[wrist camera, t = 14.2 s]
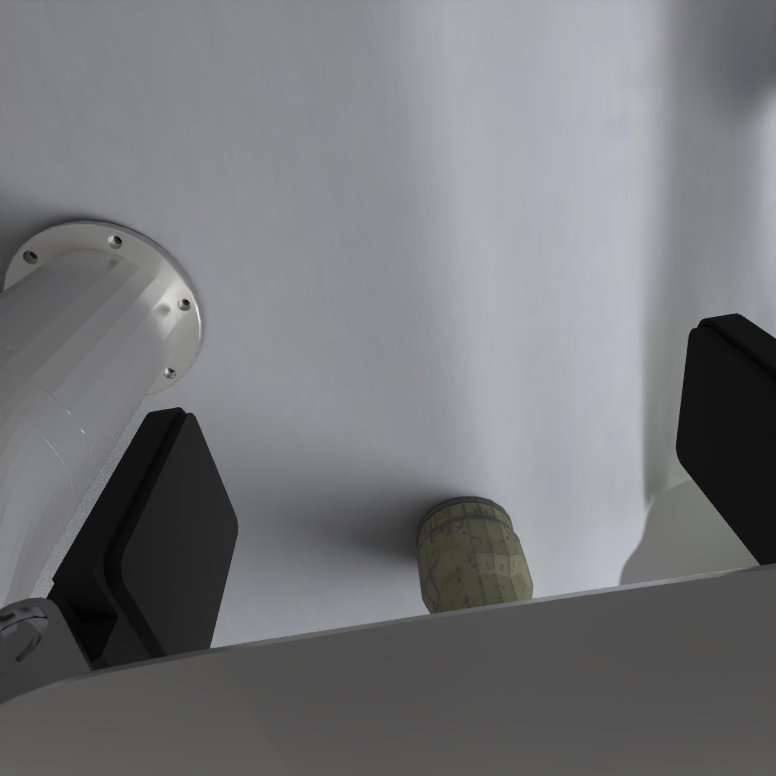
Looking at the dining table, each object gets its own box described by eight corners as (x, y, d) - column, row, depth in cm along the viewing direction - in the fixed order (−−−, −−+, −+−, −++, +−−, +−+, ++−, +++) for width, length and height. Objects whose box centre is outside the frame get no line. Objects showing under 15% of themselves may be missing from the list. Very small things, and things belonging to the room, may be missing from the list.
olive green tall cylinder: (455, 589, 55) (575, 1236, 25) (387, 516, 50) (435, 1222, 20) (537, 550, 53) (776, 1207, 23) (474, 468, 48) (678, 1183, 18)
